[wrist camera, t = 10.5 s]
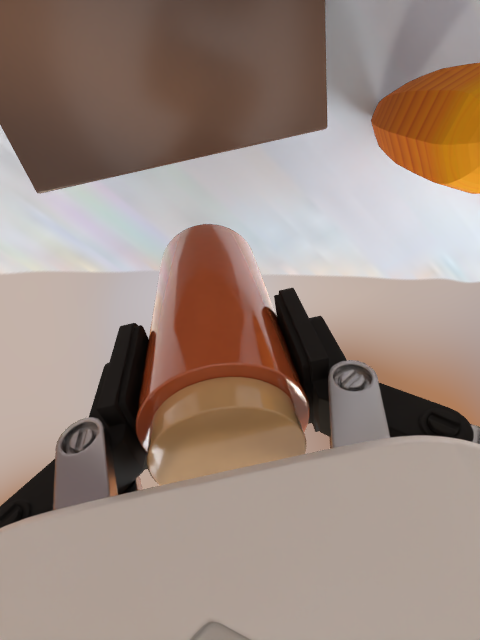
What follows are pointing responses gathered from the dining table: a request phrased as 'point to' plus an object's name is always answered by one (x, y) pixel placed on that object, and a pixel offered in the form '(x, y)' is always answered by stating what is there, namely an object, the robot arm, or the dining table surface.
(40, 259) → the dining table surface
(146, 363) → the spice jar
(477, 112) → the carrot
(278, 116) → the cabinet
